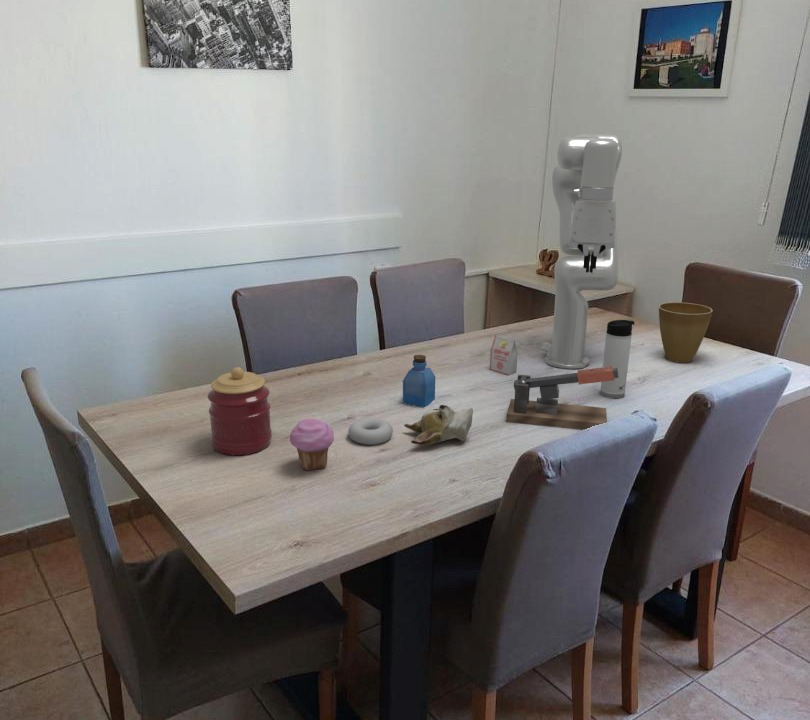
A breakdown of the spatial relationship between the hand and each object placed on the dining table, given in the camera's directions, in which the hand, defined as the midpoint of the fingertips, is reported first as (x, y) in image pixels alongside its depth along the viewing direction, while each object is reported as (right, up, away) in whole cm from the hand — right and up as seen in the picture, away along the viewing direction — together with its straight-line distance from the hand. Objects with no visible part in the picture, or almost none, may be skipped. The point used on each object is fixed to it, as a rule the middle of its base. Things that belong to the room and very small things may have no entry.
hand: (589, 271), depth 174 cm
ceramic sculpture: (-37, -40, -14) cm, 56 cm away
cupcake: (-64, -44, -27) cm, 82 cm away
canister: (-81, -40, -17) cm, 92 cm away
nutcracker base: (-9, -36, -3) cm, 37 cm away
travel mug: (+10, -31, +13) cm, 35 cm away
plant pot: (+38, -21, +42) cm, 60 cm away
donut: (-53, -39, -13) cm, 67 cm away
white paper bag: (-17, -25, +30) cm, 42 cm away
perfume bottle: (-41, -32, +7) cm, 53 cm away
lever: (-6, -30, -5) cm, 31 cm away
